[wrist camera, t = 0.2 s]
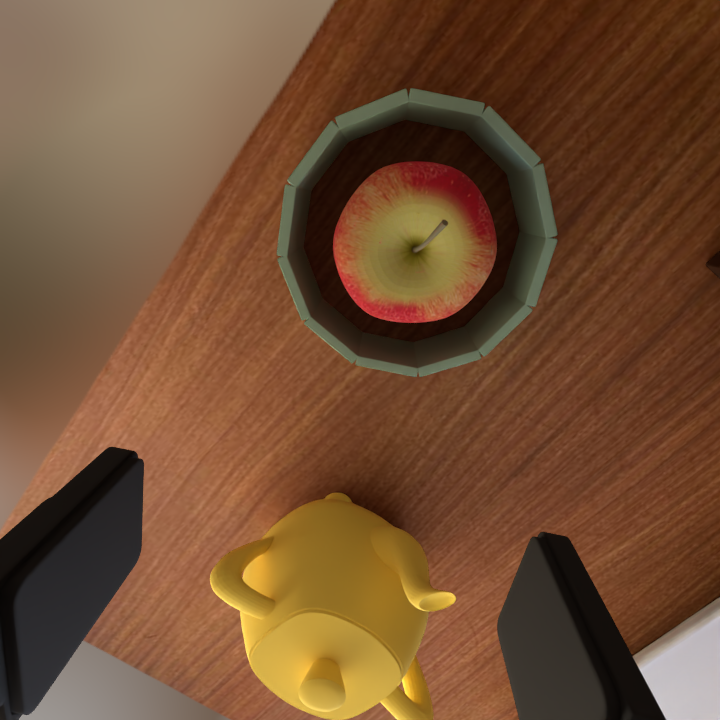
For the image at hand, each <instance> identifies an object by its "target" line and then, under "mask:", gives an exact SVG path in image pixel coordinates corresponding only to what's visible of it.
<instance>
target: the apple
mask: <svg viewBox="0 0 720 720" xmlns="http://www.w3.org/2000/svg"><path fill="white" fill-rule="evenodd" d="M333 252H334V258H335V263H336V266H337V270H338V273H339V275H340V278H341V280H342V282H343V284H344V286H345V288H346V290H347V292H348V293H349V295H350V296H351V298H352V299H353V300H354V301H355V303H356V304H357V305H358V306H359V307H360V308H361V309H362V310H364V311H365V312H367V313H368V314H370V315H372V316H374V317H377V318H380V319H383V320H388V321H394V322H404V323H419V322H430V321H436V320H440V319H444V318H446V317H449V316H451V315H453V314H455V313H456V312H458V311H459V310H460V309H462V308H463V307H464V306H465V305H466V304H468V303H469V302H470V301H471V300H472V299H473V297H474V296H475V295H476V294H477V293H478V291H479V290H480V289H481V287H482V286H483V285H484V283H485V281H486V280H487V278H488V276H489V274H490V272H491V270H492V268H493V265H494V262H495V259H496V253H497V239H496V232H495V227H494V223H493V219H492V216H491V213H490V210H489V208H488V206H487V203H486V201H485V199H484V197H483V195H482V194H481V192H480V190H479V189H478V187H477V186H476V185H475V184H474V182H473V181H472V180H471V179H470V178H469V177H468V176H467V175H465V174H464V173H462V172H461V171H459V170H457V169H455V168H453V167H450V166H447V165H444V164H439V163H433V162H423V161H411V162H401V163H396V164H391V165H388V166H385V167H383V168H381V169H379V170H377V171H375V172H374V173H373V174H371V175H370V176H369V177H368V178H367V179H366V180H364V182H363V183H362V184H361V185H360V186H359V187H358V188H357V190H356V191H355V192H354V193H353V195H352V196H351V198H350V199H349V201H348V203H347V204H346V206H345V208H344V210H343V212H342V214H341V216H340V218H339V221H338V223H337V226H336V229H335V233H334V239H333Z"/></svg>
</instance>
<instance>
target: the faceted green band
mask: <svg viewBox="0 0 720 720" xmlns="http://www.w3.org/2000/svg"><path fill="white" fill-rule="evenodd" d="M484 107H485V103H483V102H478V101H473V100H468V99H463V98H458V97H453V96H448V95H443V94H439V93H434V92H429V91H424V90H419V89H414V88H411V89H410V93H409V96H408V92H407V89H403V90H400V91H398V92H396V93H393V94H391V95H388V96H386V97H383V98H381V99H378V100H376V101H373V102H371V103H369V104H366V105H364V106H361V107H359V108H356V109H354V110H351V111H349V112H346V113H344V114H342V115H339V116H337V117H335V119H336V122H337V125H336V124H335V123H334V122H333V121H330V123H329V124H328V125H327V127H326V128H325V129H324V131H323V132H322V134H321V135H320V136H319V138H318V139H317V140H316V142H315V143H314V144H313V146H312V147H311V148H310V150H309V151H308V152H307V154H306V155H305V156H304V158H303V159H302V161H301V162H300V163H299V165H298V166H297V167H296V169H295V170H294V171H293V173H292V174H291V175H290V177H289V178H288V180H287V181H288V182H289V183H290V184H291V185H285V190H284V198H283V206H282V214H281V222H280V230H279V239H278V247H277V255H278V256H282V257H280V258H278V263H279V265H280V268H281V270H282V273H283V275H284V278H285V280H286V283H287V285H288V288H289V290H290V293H291V295H292V298H293V300H294V303H295V305H296V308H297V310H298V313H299V315H300V318H301V320H305V319H307V320H306V321H305V323H304V324H305V325H306V326H307V327H309V328H310V329H311V330H312V331H313V332H315V333H316V334H317V335H318V336H319V337H321V338H322V339H323V340H324V341H325V342H327V343H328V344H329V345H330V346H331V347H333V348H334V349H335V350H336V351H338V352H339V353H340V354H341V355H342V356H344V357H345V358H346V359H347V360H348V361H350V362H351V363H353V362H354V361H355V360H356V359H357V360H356V365H357V366H362V367H367V368H373V369H378V370H383V371H388V372H393V373H398V374H403V375H408V376H413V377H417V373H419V376H420V377H422V376H426V375H429V374H432V373H436V372H439V371H442V370H446V369H449V368H452V367H456V366H459V365H463V364H466V363H469V362H473V361H476V360H479V359H481V355H480V353H481V354H482V355H483V356H486V355H487V354H488V353H489V352H490V351H491V350H492V349H493V348H494V347H495V346H496V345H497V344H498V343H499V342H501V341H502V340H503V339H504V338H505V337H506V336H507V335H508V334H509V333H510V332H511V331H512V330H513V329H514V328H515V327H516V326H517V325H518V324H519V323H520V322H521V321H522V320H523V319H524V318H525V317H527V316H528V315H529V314H530V313H531V312H532V308H530V307H529V306H533V307H535V306H536V303H537V300H538V297H539V294H540V291H541V288H542V285H543V282H544V279H545V276H546V273H547V270H548V267H549V264H550V261H551V258H552V255H553V252H554V249H555V246H556V243H557V239H554V238H551V237H554V236H557V235H558V233H557V228H556V223H555V218H554V213H553V209H552V204H551V199H550V194H549V189H548V184H547V179H546V174H545V169H544V164H543V163H541V164H537V163H538V162H539V161H540V160H541V159H540V157H539V156H538V155H537V154H536V153H535V152H534V151H533V150H532V149H531V148H530V147H529V146H528V145H527V144H526V143H525V142H524V141H523V140H522V139H521V138H520V137H519V136H518V134H517V133H516V132H515V131H514V130H513V129H512V128H511V127H510V126H509V125H508V124H507V123H506V122H505V121H504V120H503V119H502V118H501V117H500V116H499V115H498V114H497V113H496V112H495V111H494V110H493V109H492V108H491V107H490V106H488V107H487V108H486V109H485V110H484ZM403 120H410V121H415V122H419V123H424V124H429V125H434V126H439V127H444V128H449V129H454V130H459V131H464V132H465V133H466V134H467V135H468V136H469V137H470V138H471V139H472V140H473V141H474V142H475V143H476V144H477V145H478V146H479V147H480V148H481V149H482V150H483V151H484V152H485V153H486V154H487V155H488V156H489V157H490V158H491V159H492V160H493V161H494V162H495V163H496V164H497V165H498V166H499V167H500V168H501V169H502V170H503V171H504V172H505V173H506V174H507V179H508V183H509V187H510V192H511V196H512V201H513V205H514V209H515V214H516V218H517V223H518V227H519V231H520V232H519V235H518V239H517V242H516V245H515V249H514V252H513V255H512V259H511V262H510V265H509V268H508V272H507V275H506V278H505V282H504V285H503V288H502V289H501V290H500V291H499V292H498V293H497V294H496V295H495V296H494V297H493V298H492V299H491V300H490V301H489V302H488V303H487V304H486V305H485V306H484V307H483V308H482V309H481V310H480V311H479V312H478V313H477V314H476V315H475V316H474V317H473V318H472V319H471V320H470V321H469V322H468V323H467V324H466V325H465V326H464V327H461V328H457V329H454V330H451V331H448V332H445V333H441V334H438V335H435V336H432V337H429V338H425V339H422V340H419V341H416V342H409V341H404V340H399V339H394V338H389V337H384V336H379V335H374V334H369V333H364V332H362V331H361V330H360V329H358V328H357V327H356V326H355V325H354V324H353V323H351V322H350V321H349V320H348V319H347V318H345V317H344V316H343V315H342V314H341V313H340V312H338V311H337V310H336V309H335V308H334V307H332V306H331V305H330V304H329V303H328V302H327V301H325V300H324V299H323V297H322V295H321V292H320V289H319V287H318V284H317V282H316V279H315V276H314V274H313V271H312V268H311V266H310V263H309V260H308V258H307V255H306V252H305V250H304V241H305V234H306V227H307V220H308V213H309V206H310V199H311V192H312V189H313V188H314V186H315V185H316V184H317V182H318V181H319V180H320V179H321V177H322V176H323V175H324V173H325V172H326V171H327V169H328V168H329V167H330V165H331V164H332V163H333V162H334V160H335V159H336V158H337V156H338V155H339V154H340V152H341V151H342V150H343V148H344V147H345V146H346V145H347V143H348V142H350V141H352V140H355V139H357V138H360V137H362V136H365V135H368V134H370V133H373V132H375V131H378V130H380V129H383V128H385V127H388V126H390V125H393V124H395V123H398V122H400V121H403ZM536 164H537V165H536Z"/></svg>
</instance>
